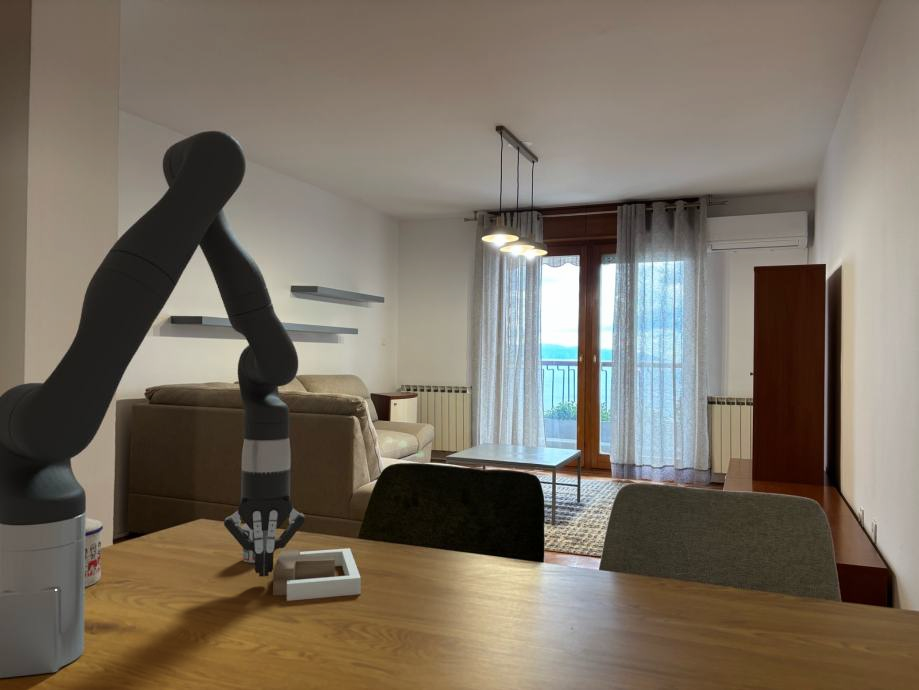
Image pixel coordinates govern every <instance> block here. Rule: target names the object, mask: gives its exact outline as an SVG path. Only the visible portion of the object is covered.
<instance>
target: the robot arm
mask: <svg viewBox="0 0 919 690" xmlns="http://www.w3.org/2000/svg"><path fill="white" fill-rule="evenodd" d="M246 167H247V166H246V156H245V153H244V151H243V148H242V145H241V144H240V143H239V142H238V140H237V139H236V138H234V137H233V136H231V135H230V134H228V133H226V132H223V131H220V130H207V131H206V130H205V131H202V132H198V133H195V134H193V135H191V136H189V137H186V138H183V139H182V140H180V141H178V142H176V143H173V144H171V146H169V148H168V149H167V150H166V151H165V152H164V155H163V159H162V172H163V176H164V179H165V182H166V183H167V186H168V189H167V191H166V192H165V193H164V194H163V196H162V197H161V198H160V199H159V200H158V201H157V202H156V203H155V204H153V206H152V207H151V208H150V209H148V210H147V211H146V212H145V213H144V214H143V215H142V216H140V218H139V219H137V220H136V221H135V222H134V223H133V224H132V225H131V226H130V227H129V228H128V229H127V230H126V231H125V232H124V233H123V234H122V235H121V236H120V237H119V239H118V240H117V241H116V242H115V243H114V244H113V246H112V247H111V248H110V250H109V251H108V252H107V254H106V256H105V257H104V258H103V260H102V262H101V263H100V265H99V266H98V268H97V269H96V271H95V272H94V273H93V275H92V277H91V278H90V281H89V283H88V285H87V288H86V291H85V294H84V297H83V301H82V307H81V313H80V318H79V323H78V329H77V331H76V334H75V336H74V338H73V341H72V343H71V344H70V346H69V348H68V350H66V352H65V354H64V355H63V357H62V358H61V360H60V361H59V363H58V364H57V365H56V366H55V368H54V370H52V371H51V373H50V375H49V376H48V377H47V378H46V379H45V380H44V382H43V383H42V382H30V383H28V382H27V383H23V384H18V385H16V386H13V387H11V388H9V389H8V390H6V391H5V392H3V394H2V395H0V679H2V678H14V677H23V676H32V675H42V674H49V673H50V674H51V673H55V672H56V673H57V672H58V671H59V670H60V668H62V667H64V666H66V665H68V664H70V663H72V662H74V661H75V660H78V658H80V657H81V656H82V654H83V653H84V651H85V597H86V595H85V590H86V589H85V588H86V587H85V525H86V516H87V513H86V509H87V507H86V506H87V495H86V491H85V489H84V487H83V486H82V485H81V484H80V482H78V479H77V478H76V476H75V474H74V471H73V468H72V461H71V459H72V458H75V457H76V456H78V455H80V453H82V452H83V451H84V450H86V449H87V448H88V446H89V445H90V444H91V442H92V441H93V440H94V438H95V436H96V435H97V433H98V431H99V429H100V427H101V425H102V423H103V420H104V419H105V417H106V415H107V412H108V409H109V408H110V405H111V403H112V401H113V398H114V396H115V393H116V392H117V390H118V388H119V386H120V384H121V381H122V378H123V376H124V375H125V372H126V370H127V369H128V367H129V365H130V363H131V361H132V360H133V358H134V356H135V355H136V353H138V350H139V348H140V347H141V345H142V343H143V342H144V339H145V338H146V336H147V335H148V333H149V331H150V329H151V327H152V326H153V324H154V322H155V320H156V319H157V318H158V316H159V315H160V313H161V312H162V310H163V309H164V307H165V305H166V304H167V301H168V300H169V298H170V297H171V295H172V293H173V291H174V290H175V288H176V287H177V285H178V283H179V281H180V279H181V277H182V274H183V273H184V272H185V269H186V268H187V266H188V264H189V263H190V262H191V260H192V258H193V256H194V254H195V252H196V251H197V249H198V247H199V248H200V250H201V252H202V253H203V256H204V257H205V259H206V261H207V264H208V266H209V269H210V271H211V273H212V276H213V278H214V281H215V283H216V286H217V289H218V293H219V296H220V298H221V300H222V304H223V307H224V309H225V313H226V315H227V318H228V321H229V323H230V325H231V327H232V329H234V331H236V332H237V333H239V334H241V335H242V336H243V337H244V338H245V340H246V341H247V343H248V345H247V346H246V347H244V349H243V350H242V351H241V353H240V355H239V358H238V363H237V378H238V379H237V381H238V386H239V391H240V396H241V397H240V398H241V402H242V405H243V409H244V420H243V421H244V422H243V423H244V425H243V426H244V427H243V428H244V429H243V438H244V439H243V445H242V452H241V481H240V484H241V486H240V487H241V489H240V491H241V492H240V502H239V504H238V506H237V510H236V511H235V512H234V513H232V514H231V515H228V516H226V517H225V519H224V522H223V525H224V527H225V528H226V529H227V531H228V532H229V533H230V534H231V535H232V537H234V539H235V540H236V541H237V542H238V543H239V545H240V546H241V547H242V549H243V548H244V549H245V550H250V551H253V552H254V553H255V563H254V572H255V574H258V577H260V578H261V577H269V575H270V574H269V573H273V569H274V553H275V551H277V550H278V549H284V548H285V547H286V546H287V544H288V543H289V542H290V541H291V540H292V538H293V537H294V536H295V534H296V533H297V532H298V530H299V529H300V528H301V527H302V525H304V524H305V514H304V513H303V512H299V511H297V510H296V509H295V508H294V506H293V505H294V504H293V502H292V500H291V463H292V459H291V443H290V442H291V441H290V423H291V422H290V420H291V416H290V408H289V405H287V403H286V402H284V401H283V400H281V398H280V394H279V387H283V386H286V385H289V384H290V383H291V382H293V381H294V379H295V377H296V376H297V374H298V370H299V357H298V356H299V355H298V352H297V349H296V347H295V343H293V340H292V339H291V337H290V335H289V333H288V332H287V330H286V328H285V327H284V325H283V323H282V322H281V320H280V319H279V317H278V316H277V314H276V312H275V310H274V306H273V305H274V304H273V303H272V299H271V295H270V293H269V289H268V287H267V283H266V281H265V278H264V275H263V273H262V272H261V269H260V268H259V266H258V264H257V262H256V261H255V259H254V258H253V257H252V255H251V254H250V253H249V251H248V250H247V249H246V247H245V246H244V245H243V244H242V243H241V241H240V240H239V239H238V237H237V235H236V234H235V232H234V231H233V230H232V228H231V226H230V224H229V222H228V219H227V217H226V215H225V212H224V210H223V209H224V208H225V206H226V205H227V203H228V202H229V200H230V199H231V198H232V197H233V195H235V192H237V190H238V189H239V188H240V186H241V184H242V182H243V180H244V177H245V174H246ZM288 517H289V518H288ZM287 518H288V523H289V524H288V526H287V527H286V528H285V530H284V531H283V532H282V533H281V534H280V536H279V537H278V538H276V533H277V532H276V531H277V530H278V529H279V528H280V527H281V526H282V525H283V524H284V522H285V521H286V519H287ZM241 519H242V520H241ZM242 521H243V522H244V524H245V523H246V524H247V525H248V527H249V528H250V529H251V530H254V541H252V540H251V539H250V538H249V537H248V536H247V534H246V533H245V532H244V531H243V527H241V524H242ZM263 530H268V532H267V543H266V550H265V553H264V550H263Z"/></svg>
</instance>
